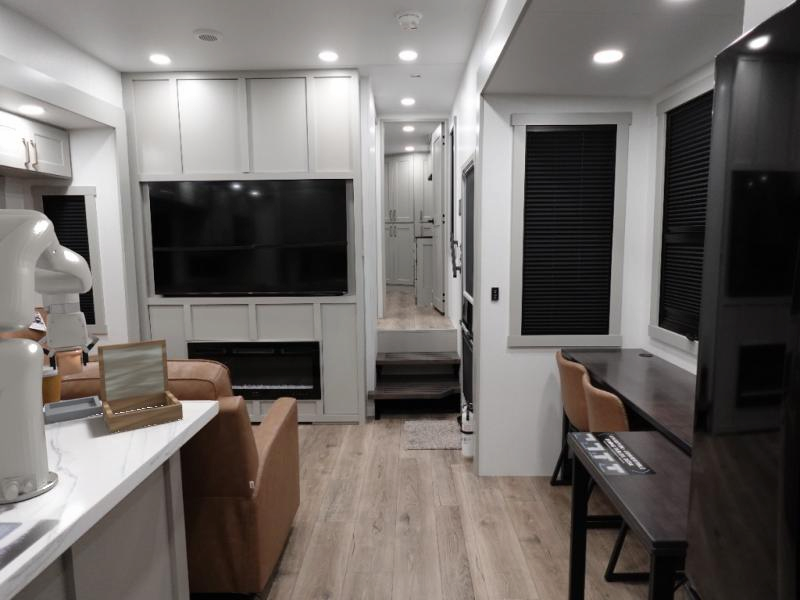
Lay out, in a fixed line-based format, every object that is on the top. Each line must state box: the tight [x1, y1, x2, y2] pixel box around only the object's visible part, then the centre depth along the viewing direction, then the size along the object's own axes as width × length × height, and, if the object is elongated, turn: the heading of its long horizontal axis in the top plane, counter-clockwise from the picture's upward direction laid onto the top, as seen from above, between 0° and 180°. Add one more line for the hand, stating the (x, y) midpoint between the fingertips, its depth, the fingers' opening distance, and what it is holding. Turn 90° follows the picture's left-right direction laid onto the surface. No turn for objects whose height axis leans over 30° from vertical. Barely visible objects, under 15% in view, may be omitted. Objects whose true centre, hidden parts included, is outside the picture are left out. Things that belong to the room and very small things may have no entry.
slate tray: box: [44, 395, 102, 425], centre depth 152 cm, size 14×14×2 cm
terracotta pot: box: [54, 347, 84, 377], centre depth 151 cm, size 7×7×7 cm
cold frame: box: [97, 338, 184, 434], centre depth 146 cm, size 19×18×21 cm
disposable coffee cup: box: [42, 364, 62, 406], centre depth 161 cm, size 10×10×12 cm
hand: (69, 366), depth 151 cm, fingers closed on terracotta pot, 7 cm apart
